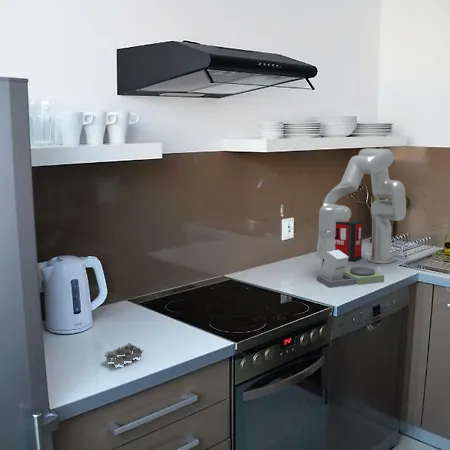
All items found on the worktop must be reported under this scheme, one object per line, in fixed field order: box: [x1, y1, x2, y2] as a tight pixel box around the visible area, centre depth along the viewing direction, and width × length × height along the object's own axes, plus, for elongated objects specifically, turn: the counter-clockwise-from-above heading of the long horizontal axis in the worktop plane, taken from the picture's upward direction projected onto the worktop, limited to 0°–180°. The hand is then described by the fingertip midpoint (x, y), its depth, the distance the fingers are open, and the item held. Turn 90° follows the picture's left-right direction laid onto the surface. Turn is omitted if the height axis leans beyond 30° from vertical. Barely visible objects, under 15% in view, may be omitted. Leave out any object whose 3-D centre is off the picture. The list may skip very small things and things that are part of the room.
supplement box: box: [319, 250, 349, 281], centre depth 250 cm, size 7×7×13 cm
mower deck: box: [316, 266, 385, 288], centre depth 252 cm, size 27×14×4 cm, turn 108°
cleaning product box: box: [335, 219, 363, 263], centre depth 291 cm, size 16×9×20 cm, turn 53°
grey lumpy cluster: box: [103, 342, 144, 365], centre depth 170 cm, size 11×8×4 cm
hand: (325, 272), depth 257 cm, fingers closed
